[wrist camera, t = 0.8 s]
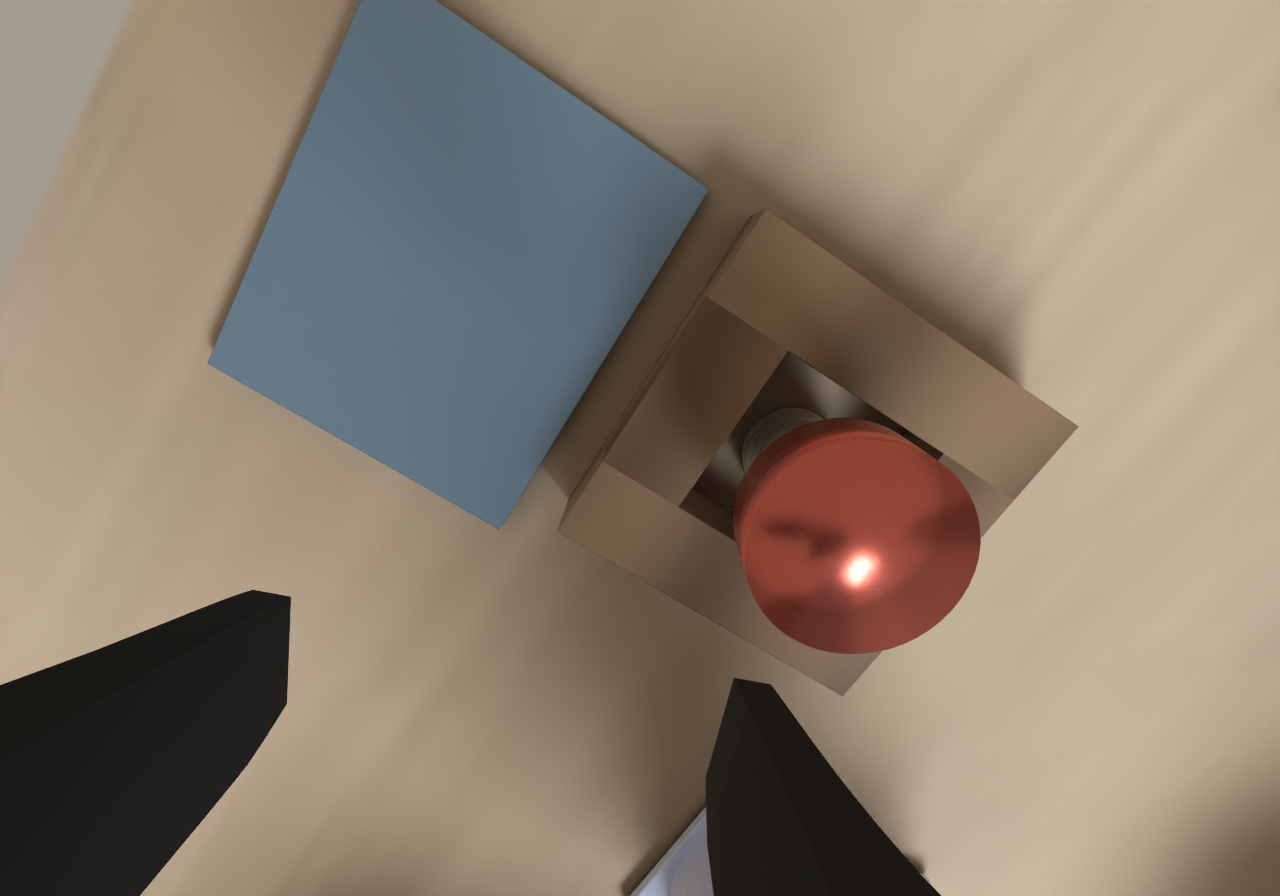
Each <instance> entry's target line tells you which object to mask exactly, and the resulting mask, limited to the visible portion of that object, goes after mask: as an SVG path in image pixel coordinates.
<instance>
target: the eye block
mask: <svg viewBox="0 0 1280 896" xmlns="http://www.w3.org/2000/svg"><path fill="white" fill-rule="evenodd" d="M788 351H789V352H790V353H792V354H793V355H795V356H796V357H798V358H799V359H801V360H802V361H804V362H805V363H807V364H808V365H810V366H811V367H813V368H814V369H816V370H817V371H819V372H820V373H822V374H823V375H825V376H826V377H828V378H829V379H831V380H832V381H834V382H835V383H837V384H838V385H840V386H841V387H843V388H845V389H846V390H848V391H849V392H851V393H852V394H854V395H855V396H857V397H858V398H860V399H861V400H863V401H864V402H866V403H867V404H869V405H870V406H872V407H873V408H875V409H876V410H878V411H879V412H881V413H882V414H884V415H885V416H887V417H888V418H890V419H891V420H893V421H894V422H896V423H897V424H899V425H900V426H902V427H903V428H905V429H906V430H907V431H906V432H905V433H904V435H903V437H904V438H906V439H907V440H908V441H910V442H911V443H913V444H914V445H916V446H917V447H919V448H920V449H922V450H923V451H925V452H926V453H928V454H929V455H930V456H932V457H933V458H935V459H936V460H938V461H939V462H940V463H942V464H943V465H944V466H946V467H947V468H948V469H949V470H951V472H952V473H953V474H954V475H955V476H956V477H957V478H958V479H959V480H960V481H961V483H962V484H963V485H964V487H965V488H966V490H967V491H968V493H969V495H970V497H971V499H972V501H973V503H974V505H975V509H976V512H977V515H978V519H979V525H980V538H981V537H982V536H983V535H984V534H985V533H986V532H987V530H988V529H989V528H990V527H991V526H992V525H993V524H994V522H995V521H996V520H997V519H998V518H999V517H1000V516H1001V514H1002V513H1003V512H1004V511H1005V510H1006V509H1007V508H1008V506H1009V505H1010V504H1011V503H1012V502H1013V501H1014V500H1015V498H1016V497H1017V496H1018V495H1019V494H1020V493H1021V492H1022V490H1023V489H1024V488H1025V487H1026V486H1027V485H1028V484H1029V482H1030V481H1031V480H1032V479H1033V478H1034V477H1035V476H1036V474H1037V473H1038V472H1039V471H1040V470H1041V469H1042V468H1043V466H1044V465H1045V464H1046V463H1047V462H1048V461H1049V460H1050V458H1051V457H1052V456H1053V455H1054V454H1055V453H1056V452H1057V450H1058V449H1059V448H1060V447H1061V446H1062V445H1063V444H1064V442H1065V441H1066V440H1067V439H1068V438H1069V437H1070V436H1071V434H1072V433H1073V432H1074V431H1075V430H1076V429H1077V428H1078V426H1077V425H1076V424H1074V423H1073V422H1071V421H1070V420H1068V419H1067V418H1065V417H1064V416H1063V415H1061V414H1060V413H1058V412H1057V411H1055V410H1054V409H1053V408H1051V407H1050V406H1048V405H1047V404H1045V403H1044V402H1043V401H1041V400H1040V399H1038V398H1037V397H1035V396H1034V395H1032V394H1031V393H1030V392H1028V391H1027V390H1025V389H1024V388H1022V387H1021V386H1020V385H1018V384H1017V383H1015V382H1014V381H1012V380H1011V379H1010V378H1008V377H1007V376H1005V375H1004V374H1002V373H1001V372H1000V371H998V370H997V369H995V368H994V367H992V366H991V365H989V364H988V363H987V362H985V361H984V360H982V359H981V358H979V357H978V356H977V355H975V354H974V353H972V352H971V351H969V350H968V349H967V348H965V347H964V346H962V345H961V344H959V343H958V342H956V341H955V340H954V339H952V338H951V337H949V336H948V335H946V334H945V333H944V332H942V331H941V330H939V329H938V328H936V327H935V326H934V325H932V324H931V323H929V322H928V321H926V320H925V319H923V318H922V317H921V316H919V315H918V314H916V313H915V312H913V311H912V310H911V309H909V308H908V307H906V306H905V305H903V304H902V303H901V302H899V301H898V300H896V299H895V298H893V297H892V296H891V295H889V294H888V293H886V292H885V291H883V290H882V289H880V288H879V287H878V286H876V285H875V284H873V283H872V282H870V281H869V280H868V279H866V278H865V277H863V276H862V275H860V274H859V273H858V272H856V271H855V270H853V269H852V268H850V267H849V266H847V265H846V264H845V263H843V262H842V261H840V260H839V259H837V258H836V257H835V256H833V255H832V254H830V253H829V252H827V251H826V250H825V249H823V248H822V247H820V246H819V245H817V244H816V243H814V242H813V241H812V240H810V239H809V238H807V237H806V236H804V235H803V234H802V233H800V232H799V231H797V230H796V229H794V228H793V227H792V226H790V225H789V224H787V223H786V222H784V221H783V220H782V219H780V218H779V217H777V216H776V215H774V214H773V213H771V212H770V211H769V210H767V209H764V210H763V211H761V212H759V213H757V214H755V215H753V216H751V217H750V218H749V220H748V221H747V223H746V224H745V226H744V227H743V229H742V231H741V232H740V234H739V235H738V237H737V238H736V240H735V241H734V243H733V245H732V246H731V248H730V249H729V251H728V252H727V254H726V255H725V257H724V259H723V260H722V262H721V263H720V265H719V266H718V268H717V269H716V271H715V273H714V274H713V276H712V277H711V279H710V280H709V282H708V284H707V285H706V287H705V288H704V290H703V291H702V293H701V294H700V296H699V298H698V299H697V301H696V302H695V304H694V305H693V307H692V308H691V310H690V312H689V313H688V315H687V316H686V318H685V319H684V321H683V322H682V324H681V326H680V327H679V329H678V330H677V332H676V333H675V335H674V336H673V338H672V340H671V341H670V343H669V344H668V346H667V347H666V349H665V350H664V352H663V354H662V355H661V357H660V358H659V360H658V361H657V363H656V365H655V366H654V368H653V369H652V371H651V372H650V374H649V375H648V377H647V379H646V380H645V382H644V383H643V385H642V386H641V388H640V389H639V391H638V393H637V394H636V396H635V397H634V399H633V400H632V402H631V403H630V405H629V407H628V408H627V410H626V411H625V413H624V414H623V416H622V417H621V419H620V421H619V422H618V424H617V425H616V427H615V428H614V430H613V431H612V433H611V435H610V436H609V438H608V439H607V441H606V442H605V444H604V446H603V447H602V449H601V450H600V452H599V453H598V455H597V456H596V458H595V460H594V461H593V463H592V464H591V466H590V467H589V469H588V470H587V472H586V474H585V475H584V477H583V478H582V480H581V481H580V483H579V484H578V486H577V488H576V489H575V491H574V492H573V494H572V495H571V497H570V498H569V500H568V503H567V506H566V509H565V511H564V514H563V517H562V520H561V523H560V525H559V528H558V531H557V532H559V533H561V534H562V535H564V536H566V537H568V538H569V539H571V540H573V541H575V542H576V543H578V544H580V545H581V546H583V547H585V548H587V549H588V550H590V551H592V552H594V553H595V554H597V555H599V556H601V557H602V558H604V559H606V560H607V561H609V562H611V563H613V564H614V565H616V566H618V567H620V568H621V569H623V570H625V571H627V572H628V573H630V574H632V575H633V576H635V577H637V578H639V579H640V580H642V581H644V582H646V583H647V584H649V585H651V586H653V587H654V588H656V589H658V590H659V591H661V592H663V593H665V594H666V595H668V596H670V597H672V598H673V599H675V600H677V601H679V602H680V603H682V604H684V605H685V606H687V607H689V608H691V609H692V610H694V611H696V612H698V613H699V614H701V615H703V616H705V617H706V618H708V619H710V620H711V621H713V622H715V623H717V624H718V625H720V626H722V627H724V628H725V629H727V630H729V631H731V632H732V633H734V634H736V635H737V636H739V637H741V638H743V639H744V640H746V641H748V642H750V643H751V644H753V645H755V646H757V647H758V648H760V649H762V650H763V651H765V652H767V653H769V654H770V655H772V656H774V657H776V658H777V659H779V660H781V661H783V662H784V663H786V664H788V665H789V666H791V667H793V668H795V669H796V670H798V671H800V672H802V673H803V674H805V675H807V676H809V677H810V678H812V679H814V680H815V681H817V682H819V683H821V684H822V685H824V686H826V687H828V688H829V689H831V690H833V691H835V692H836V693H838V694H840V695H841V696H843V695H844V694H845V693H846V692H847V691H848V689H849V688H850V687H851V686H852V685H853V684H854V683H855V681H856V680H857V679H858V678H859V677H860V676H861V674H862V673H863V672H864V671H865V670H866V669H867V668H868V666H869V665H870V664H871V663H872V662H873V661H874V660H875V658H876V657H877V656H878V655H879V654H880V653H881V652H882V651H878V652H873V653H865V654H840V653H831V652H826V651H822V650H818V649H815V648H812V647H809V646H806V645H804V644H802V643H800V642H798V641H796V640H794V639H792V638H790V637H789V636H787V635H786V634H785V633H783V632H782V631H780V630H779V629H778V628H777V627H776V626H775V625H774V624H772V623H771V622H770V620H769V619H768V618H767V617H766V616H765V614H764V613H763V612H762V611H761V609H760V607H759V606H758V604H757V603H756V601H755V599H754V596H753V594H752V592H751V590H750V587H749V583H748V580H747V577H746V573H745V570H744V567H743V563H742V560H741V557H740V553H739V550H738V547H737V543H736V540H735V536H734V528H733V513H732V512H731V511H729V510H727V509H726V508H724V507H723V506H721V505H719V504H718V503H716V502H714V501H713V500H711V499H709V498H708V497H706V496H705V495H703V494H701V493H700V492H698V491H696V490H695V489H693V488H692V487H693V486H694V484H695V483H696V481H697V480H698V478H699V477H700V476H701V474H702V473H703V471H704V470H705V469H706V467H707V466H708V464H709V463H710V461H711V460H712V459H713V457H714V456H715V454H716V453H717V451H718V450H719V449H720V447H721V446H722V444H723V443H724V441H725V440H726V439H727V437H728V436H729V434H730V433H731V431H732V430H733V429H734V427H735V426H736V424H737V423H738V421H739V420H740V419H741V417H742V416H743V414H744V413H745V412H746V410H747V409H748V407H749V406H750V404H751V403H752V402H753V400H754V399H755V397H756V396H757V394H758V393H759V392H760V390H761V389H762V387H763V386H764V384H765V383H766V382H767V380H768V379H769V377H770V376H771V374H772V373H773V372H774V370H775V369H776V367H777V366H778V365H779V363H780V362H781V360H782V359H783V357H784V356H785V355H786V353H787V352H788Z"/></svg>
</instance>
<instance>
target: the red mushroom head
mask: <svg viewBox="0 0 1280 896" xmlns="http://www.w3.org/2000/svg"><path fill="white" fill-rule="evenodd" d="M742 464H743V468H744V471H745V475H744V477H743V479H742V481H741V484H740V486H739V488H738V492H737V495H736V498H735V503H734V509H733V528H734V536H735V540H736V543H737V547H738V550H739V553H740V557H741V560H742V563H743V567H744V570H745V573H746V577H747V580H748V583H749V587H750V590H751V592H752V594H753V596H754V599H755V601H756V603H757V604H758V606H759V607H760V609H761V611H762V612H763V613H764V614H765V616H766V617H767V618H768V619H769V620H770V622H771V623H772V624H774V625H775V626H776V627H777V628H778V629H779V630H780V631H782V632H783V633H785V634H786V635H787V636H789V637H790V638H792V639H794V640H796V641H798V642H800V643H802V644H804V645H806V646H809V647H812V648H815V649H818V650H822V651H826V652H831V653H840V654H865V653H873V652H878V651H883V650H887V649H891V648H893V647H896V646H899V645H902V644H904V643H907V642H909V641H911V640H913V639H915V638H917V637H919V636H920V635H922V634H923V633H925V632H927V631H928V630H930V629H931V628H932V627H934V626H935V625H936V624H937V623H939V622H940V621H941V620H942V619H943V618H944V617H945V616H946V615H947V614H948V613H949V612H950V611H951V610H952V609H953V608H954V607H955V605H956V604H957V603H958V602H959V600H960V599H961V598H962V596H963V594H964V593H965V591H966V589H967V588H968V586H969V584H970V582H971V579H972V577H973V575H974V573H975V569H976V566H977V562H978V559H979V552H980V525H979V519H978V515H977V512H976V509H975V505H974V503H973V501H972V499H971V497H970V495H969V493H968V491H967V490H966V488H965V487H964V485H963V484H962V483H961V481H960V480H959V479H958V478H957V477H956V476H955V475H954V474H953V473H952V472H951V470H949V469H948V468H947V467H946V466H944V465H943V464H942V463H940V462H939V461H938V460H936V459H935V458H933V457H932V456H930V455H929V454H928V453H926V452H925V451H923V450H922V449H920V448H919V447H917V446H916V445H914V444H913V443H911V442H910V441H908V440H907V439H906V438H904V437H903V436H901V435H900V434H898V433H896V432H895V431H893V430H891V429H889V428H887V427H885V426H882V425H880V424H877V423H875V422H870V421H866V420H862V419H854V418H832V419H825V420H824V419H823V418H821V417H820V416H819V415H817V414H815V413H813V412H811V411H809V410H806V409H801V408H784V409H779V410H776V411H773V412H771V413H769V414H767V415H765V416H764V417H762V418H761V419H760V420H758V421H757V422H756V423H755V424H754V425H753V427H752V428H751V429H750V431H749V432H748V434H747V436H746V438H745V440H744V444H743V448H742Z"/></svg>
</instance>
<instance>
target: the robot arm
mask: <svg viewBox="0 0 1280 896" xmlns="http://www.w3.org/2000/svg"><path fill="white" fill-rule="evenodd" d="M290 606H291V597H289V596H283V595H278V594H272V593H267V592H261V591H256V590H251V591H248V592H244V593H241V594H238V595H235V596H233V597H230V598H227V599H224V600H222V601H219V602H216V603H214V604H211V605H209V606H206V607H204V608H201V609H199V610H196V611H194V612H191V613H189V614H186V615H183V616H181V617H179V618H176V619H174V620H171V621H169V622H166V623H164V624H161V625H159V626H156V627H153V628H151V629H148V630H146V631H143V632H141V633H138V634H136V635H133V636H131V637H128V638H126V639H123V640H121V641H118V642H116V643H113V644H111V645H108V646H106V647H103V648H100V649H98V650H95V651H93V652H90V653H87V654H85V655H82V656H79V657H76V658H74V659H71V660H68V661H65V662H63V663H60V664H57V665H54V666H52V667H49V668H46V669H43V670H41V671H38V672H35V673H32V674H30V675H27V676H24V677H21V678H19V679H16V680H13V681H11V682H8V683H5V684H2V685H0V896H140V895H141V894H142V892H143V891H144V890H145V889H146V888H147V886H148V885H149V884H150V883H151V882H152V880H153V879H154V878H155V877H156V876H157V874H158V873H159V872H160V871H161V869H162V868H163V867H164V866H165V865H166V863H167V862H168V861H169V860H170V859H171V857H172V856H173V855H174V854H175V853H176V851H177V850H178V849H179V848H180V847H181V845H182V844H183V843H184V842H185V841H186V839H187V838H188V837H189V836H190V835H191V833H192V832H193V831H194V830H195V828H196V827H197V826H198V825H199V824H200V822H201V821H202V820H203V819H204V818H205V816H206V815H207V814H208V813H209V812H210V810H211V809H212V808H213V807H214V805H215V804H216V803H217V802H218V801H219V799H220V798H221V797H222V796H223V794H224V793H225V792H226V791H227V790H228V788H229V787H230V786H231V785H232V783H233V782H234V781H235V780H236V778H237V777H238V776H239V775H240V773H241V772H242V771H243V770H244V768H245V767H246V766H247V765H248V763H249V762H250V760H251V759H252V757H253V756H254V754H255V753H256V751H257V750H258V748H259V747H260V745H261V744H262V742H263V741H264V739H265V738H266V736H267V735H268V733H269V731H270V730H271V728H272V727H273V725H274V723H275V722H276V720H277V719H278V717H279V715H280V714H281V712H282V711H283V709H284V707H285V706H286V704H287V686H288V659H289V632H290ZM630 896H941V895H940V894H939V893H938V892H937V891H936V890H935V889H934V888H933V887H932V885H931V883H930V881H929V879H928V878H927V877H926V876H925V875H923V874H921V873H919V872H918V871H917V870H916V868H915V867H914V866H913V865H912V864H911V863H910V862H909V861H908V860H907V859H906V857H905V856H904V855H903V854H902V853H901V852H900V851H899V849H898V848H897V847H896V846H895V845H894V844H893V842H892V841H891V840H890V839H889V838H888V836H887V835H886V834H885V833H884V832H883V831H882V829H881V828H880V827H879V826H878V825H877V824H876V822H875V821H874V820H873V819H872V818H871V817H870V815H869V814H868V813H867V812H866V810H865V809H864V808H863V807H862V805H861V804H860V803H859V802H858V801H857V799H856V798H855V797H854V796H853V794H852V793H851V792H850V790H849V789H848V788H847V787H846V785H845V784H844V783H843V782H842V780H841V779H840V778H839V776H838V775H837V774H836V772H835V771H834V770H833V769H832V767H831V766H830V765H829V763H828V762H827V761H826V759H825V758H824V757H823V755H822V754H821V753H820V751H819V750H818V749H817V747H816V746H815V745H814V743H813V742H812V740H811V739H810V738H809V736H808V735H807V734H806V732H805V731H804V729H803V728H802V727H801V725H800V724H799V723H798V721H797V720H796V718H795V717H794V716H793V714H792V713H791V711H790V710H789V709H788V707H787V706H786V705H785V703H784V702H783V700H782V699H781V698H780V696H779V695H778V694H777V692H776V691H775V690H774V688H773V687H772V686H771V685H770V684H765V683H759V682H754V681H748V680H743V679H737V678H734V680H733V683H732V687H731V690H730V694H729V697H728V701H727V704H726V708H725V712H724V715H723V719H722V722H721V726H720V729H719V733H718V736H717V740H716V743H715V747H714V750H713V754H712V757H711V761H710V765H709V768H708V772H707V775H706V807H705V808H704V809H703V811H702V812H701V813H700V814H699V815H698V816H697V818H696V819H695V820H694V821H693V822H692V823H691V825H690V826H689V827H688V828H687V829H686V831H685V832H684V833H683V834H682V835H681V836H680V838H679V839H678V840H677V841H676V842H675V843H674V845H673V846H672V847H671V848H670V849H669V851H668V852H667V853H666V854H665V855H664V856H663V858H662V859H661V860H660V861H659V862H658V863H657V865H656V866H655V867H654V868H653V869H652V871H651V872H650V873H649V874H648V875H647V876H646V878H645V879H644V880H643V881H642V882H641V883H640V885H639V886H638V887H637V888H636V889H635V891H634V892H633V893H632V894H631V895H630Z"/></svg>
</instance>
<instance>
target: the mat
mask: <svg viewBox="0 0 1280 896" xmlns="http://www.w3.org/2000/svg"><path fill="white" fill-rule="evenodd" d="M708 190H709V189H708V188H706V187H705V186H703V185H702V184H700V183H699V182H698V181H696V180H695V179H693V178H692V177H690V176H689V175H687V174H686V173H685V172H683V171H682V170H680V169H679V168H677V167H676V166H674V165H673V164H672V163H670V162H669V161H667V160H666V159H664V158H663V157H661V156H660V155H659V154H657V153H656V152H654V151H653V150H651V149H650V148H648V147H647V146H646V145H644V144H643V143H641V142H640V141H638V140H637V139H635V138H634V137H633V136H631V135H630V134H628V133H627V132H625V131H624V130H622V129H621V128H619V127H618V126H617V125H615V124H614V123H612V122H611V121H609V120H608V119H606V118H605V117H604V116H602V115H601V114H599V113H598V112H596V111H595V110H593V109H592V108H591V107H589V106H588V105H586V104H585V103H583V102H582V101H580V100H579V99H578V98H576V97H575V96H573V95H572V94H570V93H569V92H567V91H566V90H565V89H563V88H562V87H560V86H559V85H557V84H556V83H554V82H553V81H552V80H550V79H549V78H547V77H546V76H544V75H543V74H541V73H540V72H539V71H537V70H536V69H534V68H533V67H531V66H530V65H528V64H527V63H526V62H524V61H523V60H521V59H520V58H518V57H517V56H515V55H514V54H513V53H511V52H510V51H508V50H507V49H505V48H504V47H502V46H501V45H500V44H498V43H497V42H495V41H494V40H492V39H491V38H489V37H488V36H487V35H485V34H484V33H482V32H481V31H479V30H478V29H476V28H475V27H473V26H472V25H471V24H469V23H468V22H466V21H465V20H463V19H462V18H460V17H459V16H458V15H456V14H455V13H453V12H452V11H450V10H449V9H447V8H446V7H445V6H443V5H442V4H440V3H439V2H437V1H436V0H361V2H360V4H359V6H358V9H357V11H356V14H355V16H354V18H353V21H352V23H351V25H350V28H349V30H348V32H347V35H346V37H345V40H344V42H343V44H342V47H341V49H340V51H339V54H338V56H337V58H336V61H335V63H334V66H333V68H332V70H331V73H330V75H329V77H328V80H327V82H326V84H325V87H324V89H323V92H322V94H321V96H320V99H319V101H318V103H317V106H316V108H315V110H314V113H313V115H312V118H311V120H310V122H309V125H308V127H307V129H306V132H305V134H304V136H303V139H302V141H301V144H300V146H299V148H298V151H297V153H296V155H295V158H294V160H293V162H292V165H291V167H290V170H289V172H288V174H287V177H286V179H285V181H284V184H283V186H282V188H281V191H280V193H279V195H278V198H277V200H276V203H275V205H274V207H273V210H272V212H271V214H270V217H269V219H268V221H267V224H266V226H265V229H264V231H263V233H262V236H261V238H260V240H259V243H258V245H257V247H256V250H255V252H254V255H253V257H252V259H251V262H250V264H249V266H248V269H247V271H246V273H245V276H244V278H243V281H242V283H241V285H240V288H239V290H238V292H237V295H236V297H235V299H234V302H233V304H232V307H231V309H230V311H229V314H228V316H227V318H226V321H225V323H224V325H223V328H222V330H221V333H220V335H219V337H218V340H217V342H216V344H215V347H214V349H213V351H212V354H211V356H210V359H209V361H208V364H209V365H211V366H213V367H215V368H216V369H218V370H220V371H222V372H223V373H225V374H227V375H229V376H230V377H232V378H234V379H236V380H237V381H239V382H241V383H243V384H244V385H246V386H248V387H250V388H252V389H253V390H255V391H257V392H259V393H260V394H262V395H264V396H266V397H267V398H269V399H271V400H273V401H274V402H276V403H278V404H280V405H281V406H283V407H285V408H287V409H288V410H290V411H292V412H294V413H295V414H297V415H299V416H301V417H302V418H304V419H306V420H308V421H309V422H311V423H313V424H315V425H317V426H318V427H320V428H322V429H324V430H325V431H327V432H329V433H331V434H332V435H334V436H336V437H338V438H339V439H341V440H343V441H345V442H346V443H348V444H350V445H352V446H353V447H355V448H357V449H359V450H360V451H362V452H364V453H366V454H367V455H369V456H371V457H373V458H375V459H376V460H378V461H380V462H382V463H383V464H385V465H387V466H389V467H390V468H392V469H394V470H396V471H397V472H399V473H401V474H403V475H404V476H406V477H408V478H410V479H411V480H413V481H415V482H417V483H418V484H420V485H422V486H424V487H425V488H427V489H429V490H431V491H432V492H434V493H436V494H438V495H440V496H441V497H443V498H445V499H447V500H448V501H450V502H452V503H454V504H455V505H457V506H459V507H461V508H462V509H464V510H466V511H468V512H469V513H471V514H473V515H475V516H476V517H478V518H480V519H482V520H483V521H485V522H487V523H489V524H490V525H492V526H494V527H496V528H498V529H499V530H500V528H501V527H502V525H503V523H504V522H505V520H506V518H507V517H508V515H509V514H510V512H511V510H512V509H513V507H514V505H515V504H516V502H517V501H518V499H519V497H520V496H521V494H522V492H523V491H524V489H525V488H526V486H527V484H528V483H529V481H530V479H531V478H532V476H533V475H534V473H535V471H536V470H537V468H538V466H539V465H540V463H541V462H542V460H543V458H544V457H545V455H546V453H547V452H548V450H549V449H550V447H551V445H552V444H553V442H554V440H555V439H556V437H557V436H558V434H559V432H560V431H561V429H562V427H563V426H564V424H565V423H566V421H567V419H568V418H569V416H570V414H571V413H572V411H573V410H574V408H575V406H576V405H577V403H578V401H579V400H580V398H581V397H582V395H583V393H584V392H585V390H586V388H587V387H588V385H589V384H590V382H591V380H592V379H593V377H594V375H595V374H596V372H597V371H598V369H599V367H600V366H601V364H602V362H603V361H604V359H605V358H606V356H607V354H608V353H609V351H610V349H611V348H612V346H613V345H614V343H615V341H616V340H617V338H618V336H619V335H620V333H621V332H622V330H623V328H624V327H625V325H626V323H627V322H628V320H629V319H630V317H631V315H632V314H633V312H634V310H635V309H636V307H637V306H638V304H639V302H640V301H641V299H642V297H643V296H644V294H645V293H646V291H647V289H648V288H649V286H650V284H651V283H652V281H653V280H654V278H655V276H656V275H657V273H658V271H659V270H660V268H661V267H662V265H663V263H664V262H665V260H666V258H667V257H668V255H669V254H670V252H671V250H672V249H673V247H674V245H675V244H676V242H677V241H678V239H679V237H680V236H681V234H682V232H683V231H684V229H685V228H686V226H687V224H688V223H689V221H690V219H691V218H692V216H693V215H694V213H695V211H696V210H697V208H698V206H699V205H700V203H701V202H702V200H703V198H704V197H705V195H706V193H707V192H708Z"/></svg>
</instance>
